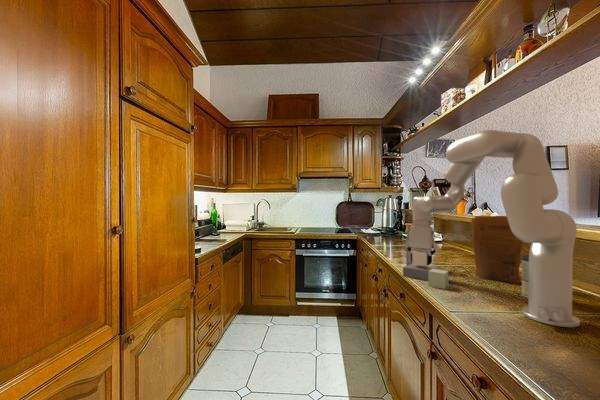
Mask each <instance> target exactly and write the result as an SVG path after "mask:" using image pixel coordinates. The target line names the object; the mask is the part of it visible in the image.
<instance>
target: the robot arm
mask: <svg viewBox="0 0 600 400" xmlns="http://www.w3.org/2000/svg"><path fill="white" fill-rule="evenodd" d="M546 155H547V154H546V152H545V149H544V145H543V143H542V142H541V140H540V139H539V138H538V137H537V136H536V135H534V134H531V133H525V132H510V131H503V130H496V129H485V130H481V131H479V132H475V133H473V134H470V135H467V136H464V137H461V138H459V139H456V140H454V141H453V142H452V143H450V144H449V146H448V147H447V148H446V151H445V158H446V159H447V161H448V162H449V163H450V164H449V165H448V166H447V168H446V169H445V171H444V172H443V175H444V179H445V180H446V181H448V182H449V183H450V187H449V189H448V190H447V192H445V194H444V195H424V196H421V195H420V196H414V197H413V198H412V225H411V226H410V229H409V231H410V235H409V240H408V241H407V242H405V243H404V244H403V246H404V247H405V248H407V250H408V251H409V252H410V253H411V260H412V251H414V250H416V248H419V249H426V250H427V252H428V256H427V264H428V265H429V266H431V264H432V263H433V255H435V253H437V252H438V251H439V250H440V249H441V247H440V246H439V245H438V244H437V243H436V242H435V234H434V229H433V227H432V226H433V225H434V224H435V222H434V221H432V217H431V214H447V213H451V212H452V211H454V209H456V207H457V206H458V205H459V204H460V203H461V202H462V200H463V198H464V195H465V190H466V189H465V188H466V186H465V185H466V182H467V181H468V180H469V179H470V177H472V175H473V174H474V173H475V171H476V170H477V169H478V168H479V166H480V165H481V163H482V162H483V161H484V159H485V158H486V157H489V158H502V159H504V158H505V159H509V158H511V159H512V164H511V165H512V170H513V173H514V174H511V175H509V176H508V177H507V178H506V179H505V180H504V181H503V182H502V185H501V188H500V198H501V201H502V205H503V209H504V212H505V216H507V219H508V223H509V226H510V229H511V231H512V233H513V234H514V235H515V237H517V238H518V239H519V240H521V241H523V243H527V244H530V247H529V252H528V255H529V296H528V298H527V299H528V302H527V303H528V306H525V307H524V306H523V307H522V308H521V313H522V314H523V315H524V316H525V317H527V318H528V319H531V320H534V321H535V322H538V323H541V324H546V325H550V326H555V327H561V328H562V327H563V328H577V327H579V326H580V325H581V320H580V319H579V317H577V316H575V315H573V262H574V260H573V259H574V256H573V255H574V247H575V243H576V242H575V241H576V238H577V223H576V222H575V220H574V218H573V217H572V216H571V215H570V214H568V213H567V212H564V211H563V210H559V209H553V208H549V209H547V208H544V206H547V205H548V206H549V205H550V204H552V203H554V202H555V201H556V200H557V198H558V196H559V188H558V186H557V185H558V184H557V182H556V181H555V180H556V179H555V177H554V174H553V172H552V169H551V166H550V164H549V163H550V162H549V161H548V159H547V156H546ZM409 246H410V247H412V248H410V247H409ZM433 248H434V249H433ZM432 249H433V250H432Z"/></svg>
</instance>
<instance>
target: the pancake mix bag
mask: <svg viewBox="0 0 600 400" xmlns="http://www.w3.org/2000/svg"><path fill="white" fill-rule="evenodd" d="M470 226H471V239H472V240H471V241H472V248H473V255H474V257H473V258H474V263H475V268H476V269H475V274H474V276H476V277H477V278H479V279H485V280H490V281H497V282H498V281H499V282H505V283H506V282H507V283H512V284H519V283H522V279H521V277H520V265H521V256H522V249H523V243H524V242H523V241H521V240H519V239H518V238H517V237H515V235H514V234H513V233H512V231H511V229H510V226H509V223H508V219H507V216H506V215H493V216H490V215H475V216H474V218H473V217H471V220H470Z"/></svg>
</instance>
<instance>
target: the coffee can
mask: <svg viewBox="0 0 600 400" xmlns="http://www.w3.org/2000/svg"><path fill="white" fill-rule="evenodd" d="M520 259H521V296H522V297H525V298H527V299H528V296H529V254H528V255H521V257H520Z"/></svg>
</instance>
